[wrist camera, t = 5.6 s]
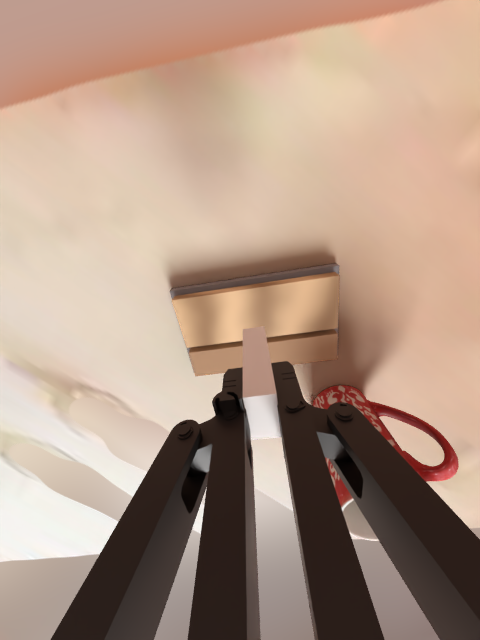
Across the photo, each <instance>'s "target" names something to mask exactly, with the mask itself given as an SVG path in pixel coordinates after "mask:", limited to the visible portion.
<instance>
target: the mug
mask: <svg viewBox="0 0 480 640" xmlns="http://www.w3.org/2000/svg"><path fill="white" fill-rule="evenodd" d="M337 402H344V403H348V404H351V405H353V406H355V407H356V408H357V409H358V410H359V411H360V412H361V413H362V414H363V415H364V416H365V417H366V418H367V419H368V420H369V421H370V423H371V424H372V425H373V426H374V427H375V428H376V429H377V430H378V431H379V432H380V433H381V434H382V435H383V436H384V438H385V439H386V440H387V441H388V442H389V443H390V444H391V445H392V446H393V447H394V448H395V449H396V450H397V451H398V453H399V454H400V455H401V456H402V457H403V458H404V459H405V460H406V461H407V462H408V463H409V464H410V465H411V466H412V468H413V469H414V470H415V471H416V472H417V473H418V474H419V475H420V476H421V477H422V478H423V479H424V480H425V482H427V481H443V480H447V479H449V478H451V477H453V476H454V475H455V474H456V472H457V470H458V458H457V455H456V453H455V451H454V449H453V448H452V447H451V445H450V444H449V442H448V441H447V440H446V439H445V438H444V436H443V435H442V434H441V433H440V432H439V431H437V430H436V429H435V428H434V427H432V426H431V425H429V424H428V423H426V422H425V421H423V420H421V419H419V418H417V417H415V416H413V415H411V414H408V413H406V412H403V411H401V410H398V409H395V408H392V407H389V406H385V405H382V404H379V403H375V402H370V401H369V400H367V399H366V398H365V396H364V395H363V394H362V393H361V392H360V391H359V390H358V389H356V388H354V387H351V386H346V385H339V386H333V387H330V388H327V389H325V390H324V391H322V392H321V393H319V394H318V395H317V397H316V398H315V400H314V402H313V406H314V407H317V408H323V409H328V408H329V406H330V405H332V404H334V403H337ZM380 416H388V417H391V418H394V419H397V420H400V421H402V422H405V423H407V424H410V425H412V426H414V427H416V428H418V429H420V430H422V431H424V432H426V433H427V434H429V435H430V436H431V437H433V438H434V439H435V440H436V441H437V442H438V443H439V444H440V446H441V447H442V449H443V451H444V454H445V457H444V461H443V462H442V463H441V464H440V465H437V466H433V467H432V466H427V465H424V464H421V463H420V462H418V461H417V460H415V459H414V458H413V457H412V456H411V455H410V454H408V453H407V452H406V451H402V449H401V448H400V447H399V445H398V444H397V442H396V441H395V440H394V438H393V437H392V435H391V434H390V432H389V431H388V430H387V428H386V427H385V425H384V424H383V422H382V421H381V420H380V418H379V417H380ZM325 459H326V462H327V465H328V468H329V471H330V475H331V478H332V481H333V484H334V487H335V490H336V493H337V496H338V499H339V502H340V505H341V508H342V511H343V514H344V517H345V520H346V524H347V527H348V530H349V533H350V535H352V536H354V537H357V538H361V539H365V540H373V541H379V540H378V538H377V536H376V535H375V533H374V532H373V530H372V528H371V527H370V525H369V524H368V522H367V520H366V519H365V517H364V515H363V514H362V512H361V511H360V509H359V507H358V506H357V504H356V502H355V501H354V499H353V498H352V496H351V494H350V493H349V491H348V489H347V488H346V486H345V485H344V483H343V481H342V480H341V478H340V476H339V475H338V473H337V472H336V470H335V468H334V467H333V465H332V463H331V462H330V460H329V458H325Z"/></svg>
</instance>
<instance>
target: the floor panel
mask: <svg viewBox="0 0 480 640" xmlns="http://www.w3.org/2000/svg"><path fill="white" fill-rule="evenodd" d="M331 272H336V273H337V274H339V265H338V264H336V263H334V264H328V265H321V266H315V267H308V268H302V269H295V270H289V271H282V272H276V273H269V274H263V275H256V276H250V277H243V278H237V279H230V280H224V281H217V282H211V283H204V284H198V285H191V286H185V287H178V288H172V289H171V290H170V294H171V297H172V299H173V298H174V296H178V295H185V294H192V293H198V292H205V291H211V290H218V289H225V288H231V287H238V286H245V285H251V284H258V283H265V282H271V281H278V280H285V279H291V278H298V277H304V276H311V275H318V274H324V273H331ZM338 323H339V309H338ZM266 338H267V344H268V349H269V355H270V360H271V363H276V362H283V361H288V362H289V363H290V364H292V365H294V364H302V363H310V362H319V361H327V360H335V359H337V355H338V328H335V329H328V330H320V331H312V332H305V333H297V334H289V335H282V336H274V337H266ZM185 344H186V343H185ZM186 347H187V346H186ZM187 350H188V354H189V357H190V361H191V364H192V367H193V371H194V373H195V376H202V375H210V374H218V373H226V371H227V370H228V369H233V368H241V367H243V341H236V342H228V343H220V344H213V345H205V346H197V347H190V348H187Z"/></svg>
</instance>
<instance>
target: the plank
mask: <svg viewBox="0 0 480 640" xmlns="http://www.w3.org/2000/svg"><path fill="white" fill-rule="evenodd" d="M339 279H340V275H339V274H337V273H336V272H331V273H324V274H318V275H311V276H304V277H298V278H291V279H285V280H278V281H271V282H265V283H258V284H251V285H245V286H238V287H231V288H225V289H218V290H211V291H205V292H198V293H192V294H185V295H178V296H174V298H173V299H172V303H173V306H174V309H175V312H176V315H177V319H178V322H179V325H180V328H181V331H182V334H183V337H184V340H185V343H186V346H187V348H190V347H197V346H205V345H213V344H220V343H228V342H236V341H243V329H248V328H255V327H262V326H264V327H265V333H266V337H274V336H282V335H289V334H297V333H305V332H312V331H320V330H328V329H335V328H338V309H339Z"/></svg>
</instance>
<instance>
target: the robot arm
mask: <svg viewBox="0 0 480 640" xmlns="http://www.w3.org/2000/svg"><path fill="white" fill-rule="evenodd" d="M212 403H213V407H214V411H215V414H216V416H215V417H213V418H212V419H210V420H208V421H206V422H204V423H201V424H198V423H197V422H196V421H194V420H185V421H182V422H180V423H179V424H177V425H176V426H175V427H174V428H173V429H172V431H171V432H170V434H169V436H168V438H167V439H166V441H165V443H164V445H163V446H162V448H161V450H160V451H159V453H158V455H157V457H156V458H155V460H154V462H153V464H152V465H151V467H150V469H149V471H148V472H147V474H146V476H145V477H144V479H143V481H142V483H141V484H140V486H139V488H138V489H137V491H136V493H135V495H134V496H133V498H132V500H131V502H130V503H129V505H128V507H127V508H126V510H125V512H124V514H123V515H122V517H121V519H120V521H119V522H118V524H117V526H116V528H115V529H114V531H113V533H112V534H111V536H110V538H109V540H108V541H107V543H106V545H105V547H104V548H103V550H102V552H101V553H100V555H99V557H98V559H97V560H96V562H95V564H94V566H93V568H92V569H91V571H90V572H89V574H88V576H87V578H86V579H85V581H84V583H83V585H82V586H81V588H80V590H79V592H78V593H77V595H76V597H75V598H74V600H73V602H72V604H71V605H70V607H69V609H68V611H67V613H66V614H65V616H64V617H63V619H62V621H61V623H60V624H59V626H58V628H57V630H56V631H55V633H54V635H53V636H52V638H51V640H154V637H155V634H156V631H157V628H158V625H159V623H160V620H161V617H162V614H163V611H164V608H165V605H166V602H167V600H168V596H169V594H170V591H171V588H172V585H173V582H174V579H175V576H176V574H177V570H178V568H179V565H180V562H181V559H182V556H183V553H184V550H185V548H186V544H187V542H188V539H189V536H190V533H191V530H192V527H193V524H194V521H195V519H196V516H197V513H198V510H199V507H200V504H201V501H202V498H203V495H204V492H205V489H206V487H207V491H206V498H205V506H204V514H203V522H202V530H201V538H200V546H199V555H198V562H197V570H196V578H195V586H194V595H193V602H192V610H191V618H190V626H189V634H188V640H261V639H260V618H259V617H260V616H259V593H258V571H257V570H258V569H257V549H256V524H255V500H254V477H253V454H252V447H251V440H258V439H267V438H277V437H282V443H283V451H284V459H285V462H286V468H287V474H288V480H289V486H290V492H291V499H292V505H293V511H294V516H295V523H296V529H297V535H298V541H299V546H300V553H301V559H302V565H303V571H304V577H305V583H306V589H307V595H308V600H309V607H310V613H311V619H312V625H313V631H314V637H315V640H384V637H383V634H382V631H381V628H380V625H379V621H378V619H377V615H376V612H375V610H374V606H373V603H372V600H371V597H370V594H369V591H368V588H367V585H366V582H365V579H364V576H363V572H362V569H361V566H360V564H359V560H358V557H357V554H356V551H355V548H354V545H353V542H352V539H351V536H350V533H349V530H348V527H347V524H346V520H345V517H344V514H343V511H342V508H341V505H340V502H339V499H338V496H337V493H336V490H335V487H334V484H333V481H332V478H331V475H330V471H329V468H328V465H327V462H326V459H325V458H329V460H330V462H331V463H332V465H333V467H334V468H335V470H336V472H337V473H338V475H339V476H340V478H341V480H342V481H343V483H344V485H345V486H346V488H347V489H348V491H349V493H350V494H351V496H352V498H353V499H354V501H355V502H356V504H357V506H358V507H359V509H360V511H361V512H362V514H363V515H364V517H365V519H366V520H367V522H368V524H369V525H370V527H371V528H372V530H373V532H374V533H375V535H376V536H377V538H378V540H379V541H380V543H381V544H382V546H383V548H384V549H385V551H386V553H387V554H388V556H389V558H390V559H391V561H392V562H393V564H394V566H395V567H396V569H397V570H398V572H399V574H400V575H401V577H402V579H403V580H404V582H405V584H406V585H407V587H408V588H409V590H410V591H411V593H412V595H413V596H414V598H415V600H416V601H417V603H418V605H419V606H420V608H421V610H422V611H423V613H424V614H425V616H426V618H427V619H428V621H429V622H430V624H431V626H432V627H433V629H434V631H435V632H436V634H437V635H438V637H439V639H440V640H480V539H479V538H478V537H477V536H476V535H475V534H474V533H473V532H472V531H471V530H470V529H469V528H468V527H467V525H466V524H465V523H464V522H463V521H462V520H461V519H460V518H459V517H458V516H457V515H456V514H455V513H454V512H453V510H452V509H451V508H450V507H449V506H448V505H447V504H446V503H445V502H444V501H443V500H442V499H441V498H440V497H439V495H438V494H437V493H436V492H435V491H434V490H433V489H432V488H431V487H430V486H429V485H428V484H427V483H426V482H425V480H424V479H423V478H422V477H421V476H420V475H419V474H418V473H417V472H416V471H415V470H414V469H413V468H412V466H411V465H410V464H409V463H408V462H407V461H406V460H405V459H404V458H403V457H402V456H401V455H400V454H399V453H398V451H397V450H396V449H395V448H394V447H393V446H392V445H391V444H390V443H389V442H388V441H387V440H386V439H385V438H384V436H383V435H382V434H381V433H380V432H379V431H378V430H377V429H376V428H375V427H374V426H373V425H372V424H371V423H370V421H369V420H368V419H367V418H366V417H365V416H364V415H363V414H362V413H361V412H360V411H359V410H358V409H357V408H356V407H355V406H353V405H351V404H348V403H344V402H337V403H334V404H332V405H330V406H329V408H328V409H323V408H317V407H314V406H312V405H310V404H308V403H307V402H306V401H305V400H304V398H303V396H302V393H301V389H300V386H299V383H298V380H297V377H296V374H295V371H294V368H293V365H292V364H290V363H289V362H288V361H283V362H276V363H271V360H270V355H269V349H268V344H267V338H266V333H265V327H264V326H262V327H255V328H248V329H243V367H241V368H233V369H228V370H227V371H226V373H225V374H224V378H223V388H222V392H220V393H218V394H217V395H216V396H215V397H214V398H213V401H212Z"/></svg>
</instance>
